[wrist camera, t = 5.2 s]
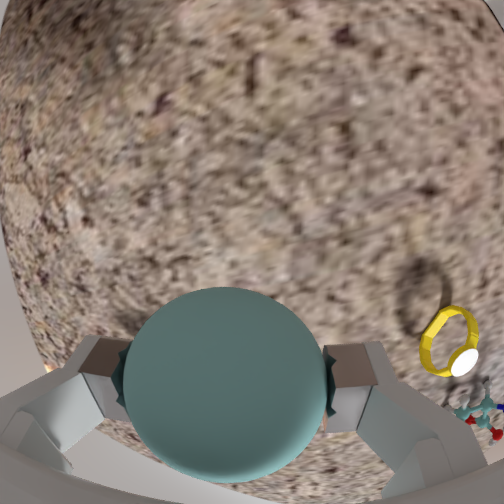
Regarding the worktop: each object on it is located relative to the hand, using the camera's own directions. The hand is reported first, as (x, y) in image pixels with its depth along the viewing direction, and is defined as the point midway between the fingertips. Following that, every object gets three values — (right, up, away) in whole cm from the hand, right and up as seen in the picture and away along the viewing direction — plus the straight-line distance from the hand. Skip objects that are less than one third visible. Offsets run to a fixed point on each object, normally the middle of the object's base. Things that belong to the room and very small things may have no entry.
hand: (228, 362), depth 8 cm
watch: (+17, -4, +16) cm, 24 cm away
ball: (0, +1, +2) cm, 2 cm away
